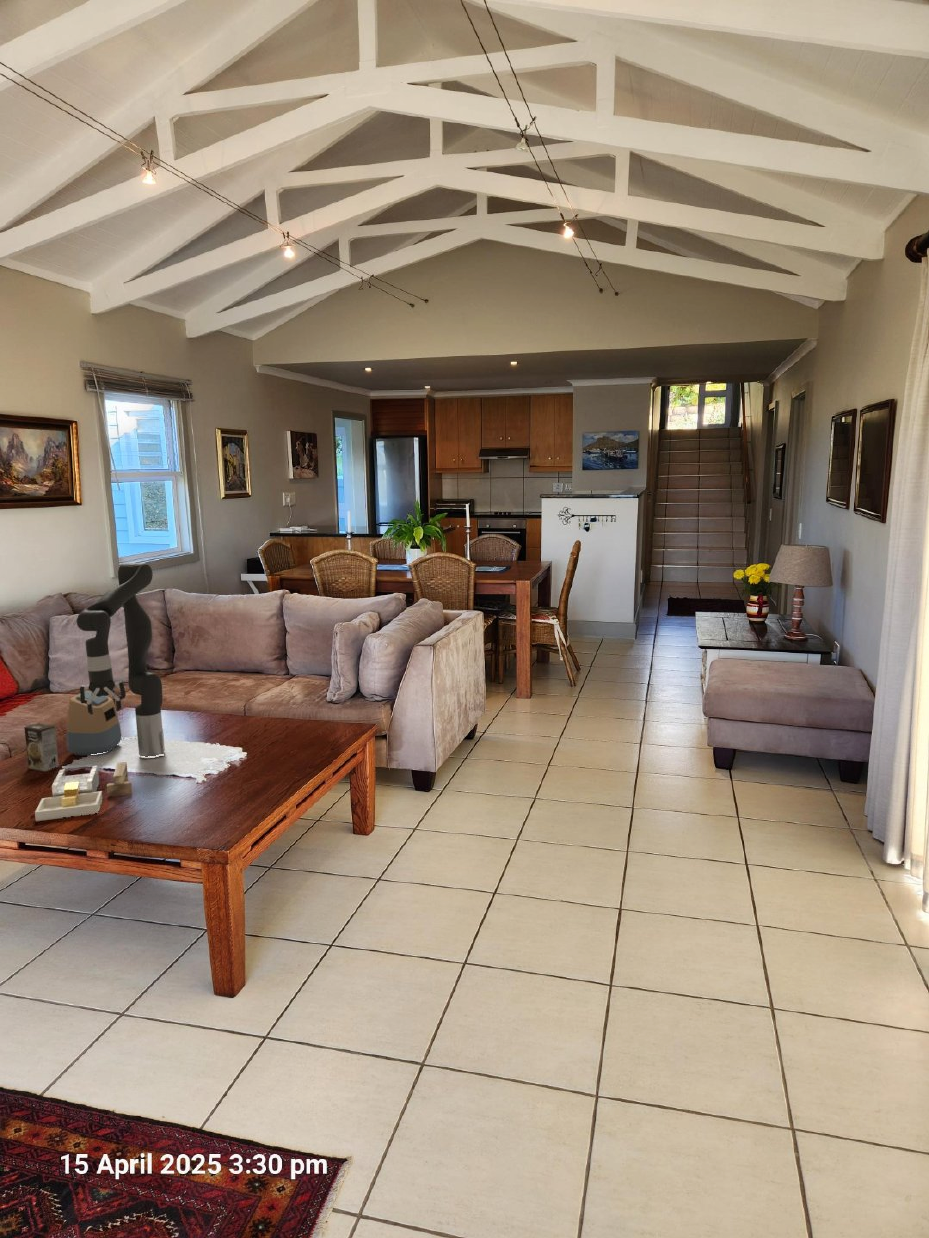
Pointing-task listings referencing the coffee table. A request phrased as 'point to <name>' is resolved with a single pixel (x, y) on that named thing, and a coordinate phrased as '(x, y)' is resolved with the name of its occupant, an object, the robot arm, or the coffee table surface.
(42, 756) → the coffee box
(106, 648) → the robot arm
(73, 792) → the block
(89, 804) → the tray
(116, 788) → the beige wedge bookend
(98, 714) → the two-tone rounded housing
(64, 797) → the block
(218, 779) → the coffee table surface
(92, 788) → the channel
